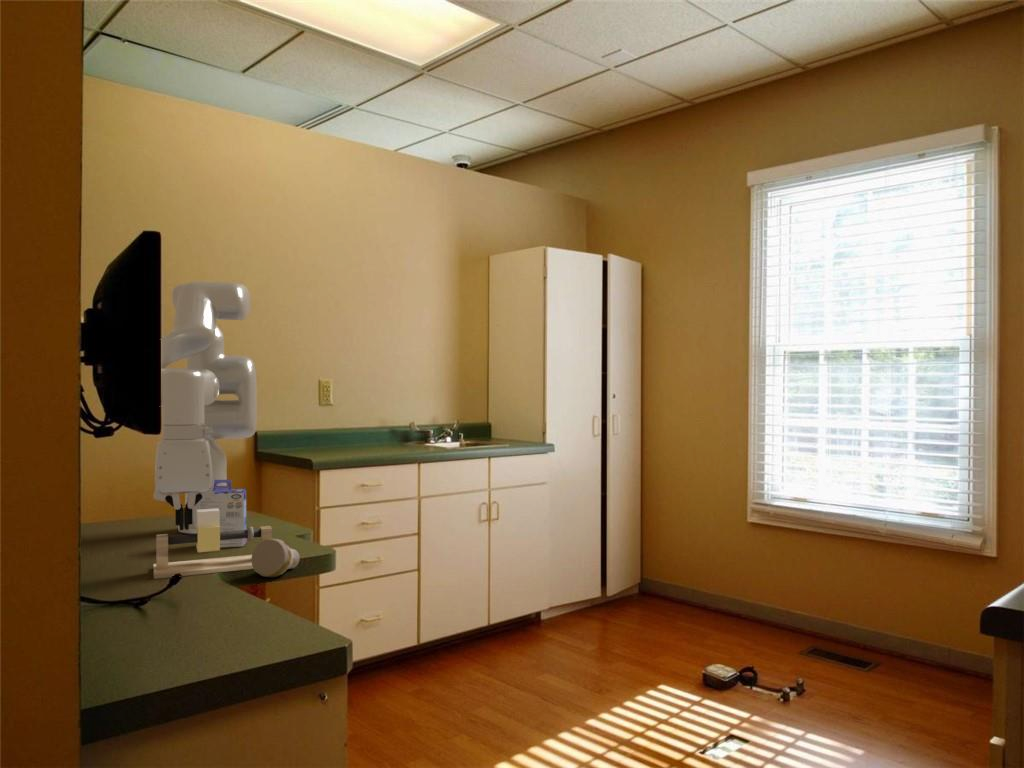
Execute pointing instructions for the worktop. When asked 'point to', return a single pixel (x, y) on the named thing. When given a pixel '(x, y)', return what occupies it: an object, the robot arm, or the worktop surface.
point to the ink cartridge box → (228, 510)
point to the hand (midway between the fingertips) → (184, 528)
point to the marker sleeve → (208, 530)
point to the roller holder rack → (204, 565)
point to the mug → (273, 558)
